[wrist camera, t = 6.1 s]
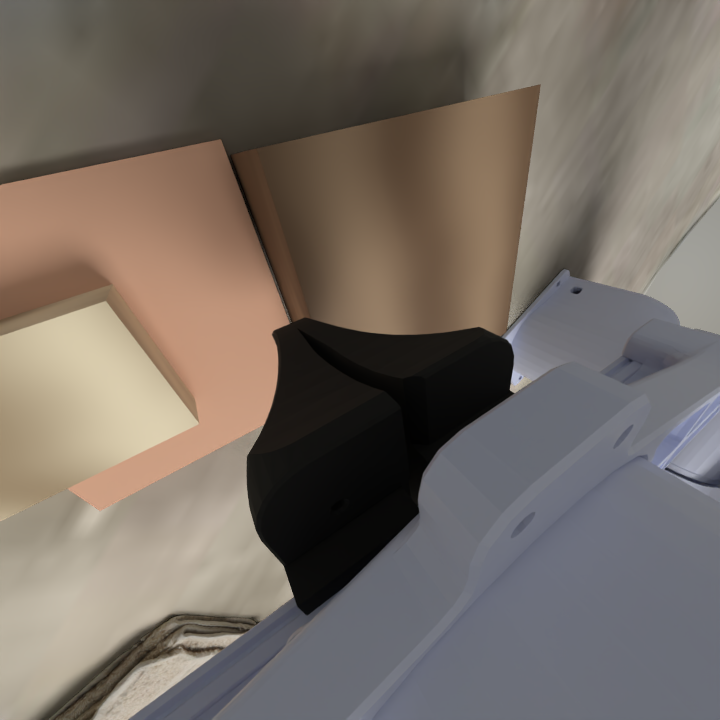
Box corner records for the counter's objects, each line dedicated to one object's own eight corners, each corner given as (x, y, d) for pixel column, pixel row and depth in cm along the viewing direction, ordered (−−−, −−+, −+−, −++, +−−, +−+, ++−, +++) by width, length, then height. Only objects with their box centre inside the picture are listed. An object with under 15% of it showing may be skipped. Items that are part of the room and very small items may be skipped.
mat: (219, 139, 11) (220, 138, 11) (314, 393, 19) (317, 396, 19) (-271, 241, 7) (-290, 244, 7) (101, 504, 15) (99, 510, 15)
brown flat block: (465, 101, 15) (540, 84, 12) (460, 311, 22) (506, 332, 19) (230, 155, 11) (256, 147, 8) (315, 385, 19) (345, 425, 16)
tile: (-271, 426, 7) (-197, 383, 9) (-29, 535, 11) (-7, 491, 12) (105, 301, 10) (112, 283, 11) (199, 423, 13) (194, 398, 15)
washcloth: (270, 610, 30) (280, 646, 27) (119, 755, 28) (116, 807, 25) (165, 603, 22) (166, 653, 19) (-58, 805, 20) (-86, 888, 17)
